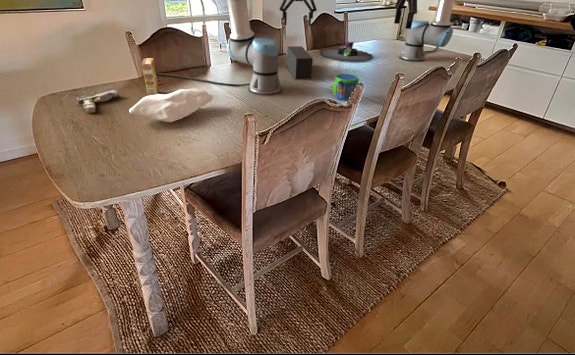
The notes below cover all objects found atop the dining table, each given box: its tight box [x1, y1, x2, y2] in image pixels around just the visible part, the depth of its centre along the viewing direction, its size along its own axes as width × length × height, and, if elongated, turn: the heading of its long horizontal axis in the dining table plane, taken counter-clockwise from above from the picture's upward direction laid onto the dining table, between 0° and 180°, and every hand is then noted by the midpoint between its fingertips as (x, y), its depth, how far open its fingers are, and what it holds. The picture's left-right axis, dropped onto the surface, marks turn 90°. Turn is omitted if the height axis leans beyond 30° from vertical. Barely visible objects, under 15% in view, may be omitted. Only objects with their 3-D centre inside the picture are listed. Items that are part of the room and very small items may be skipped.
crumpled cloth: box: [129, 88, 214, 123], centre depth 147 cm, size 24×35×9 cm
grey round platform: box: [319, 40, 374, 62], centre depth 239 cm, size 35×35×9 cm
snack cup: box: [331, 73, 359, 101], centre depth 169 cm, size 16×10×10 cm
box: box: [286, 45, 314, 80], centre depth 203 cm, size 27×9×11 cm, turn 10°
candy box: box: [141, 57, 160, 96], centre depth 163 cm, size 9×4×15 cm, turn 13°
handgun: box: [76, 89, 120, 114], centre depth 155 cm, size 3×18×15 cm
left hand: (297, 24), depth 200 cm, fingers open, 13 cm apart
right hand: (402, 26), depth 186 cm, fingers open, 13 cm apart
